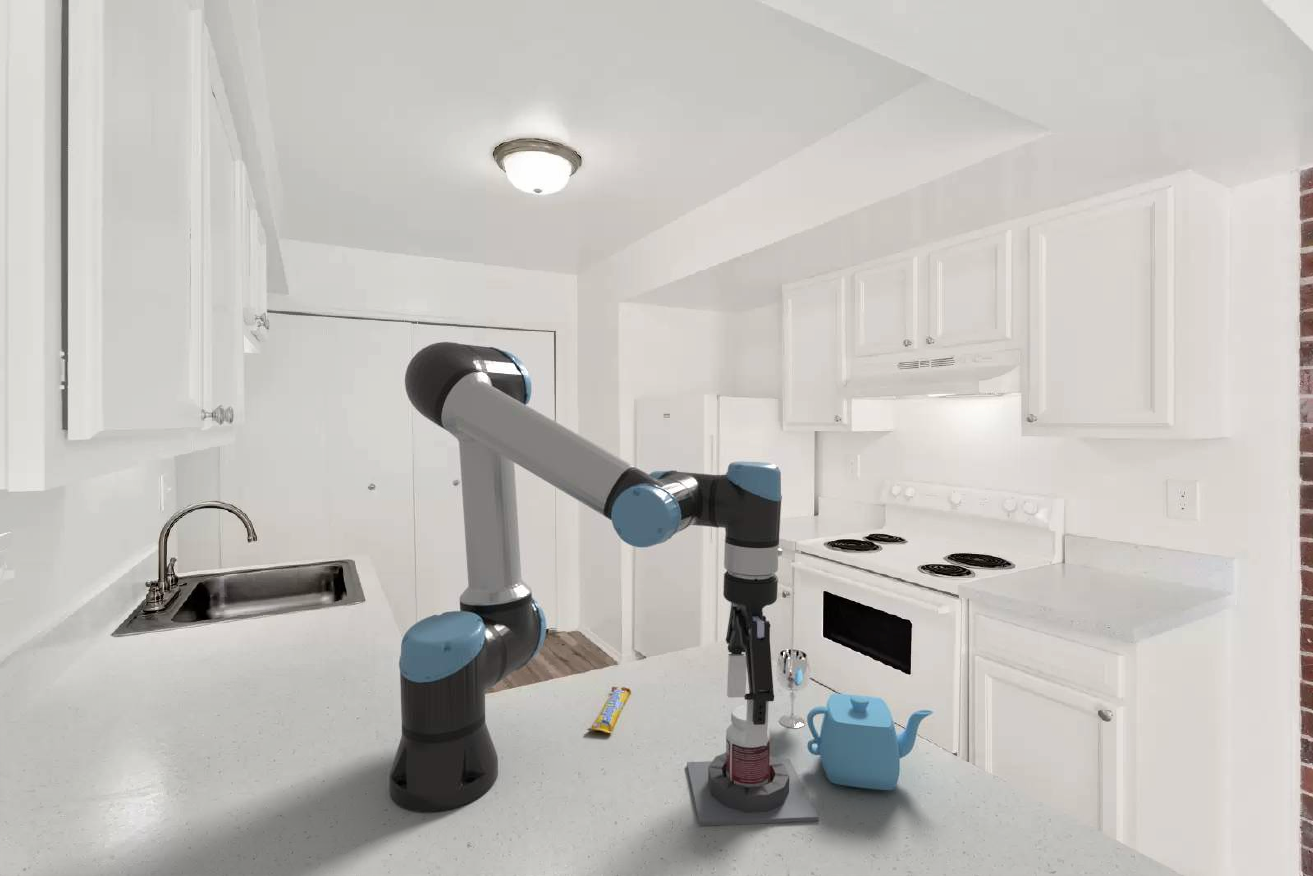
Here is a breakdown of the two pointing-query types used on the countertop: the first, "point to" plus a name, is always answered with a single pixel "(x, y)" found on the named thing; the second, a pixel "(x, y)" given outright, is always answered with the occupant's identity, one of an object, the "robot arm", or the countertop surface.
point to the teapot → (861, 741)
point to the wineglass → (792, 680)
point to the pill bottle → (745, 754)
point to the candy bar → (611, 710)
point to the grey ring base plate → (748, 795)
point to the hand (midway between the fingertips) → (745, 718)
